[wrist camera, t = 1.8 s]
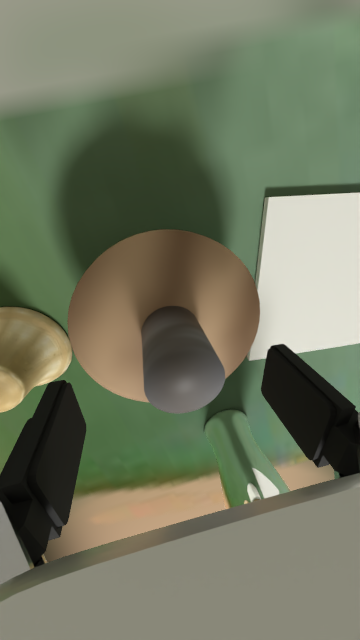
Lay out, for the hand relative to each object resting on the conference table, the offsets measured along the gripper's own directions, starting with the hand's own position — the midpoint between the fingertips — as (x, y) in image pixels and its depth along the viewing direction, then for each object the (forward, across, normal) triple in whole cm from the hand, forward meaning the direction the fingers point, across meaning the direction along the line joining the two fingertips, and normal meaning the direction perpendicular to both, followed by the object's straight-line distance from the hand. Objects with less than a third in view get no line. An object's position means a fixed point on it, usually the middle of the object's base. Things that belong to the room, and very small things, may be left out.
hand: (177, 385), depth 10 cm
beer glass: (+11, -8, +19) cm, 23 cm away
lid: (+6, 0, 0) cm, 6 cm away
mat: (+10, -19, 0) cm, 21 cm away
